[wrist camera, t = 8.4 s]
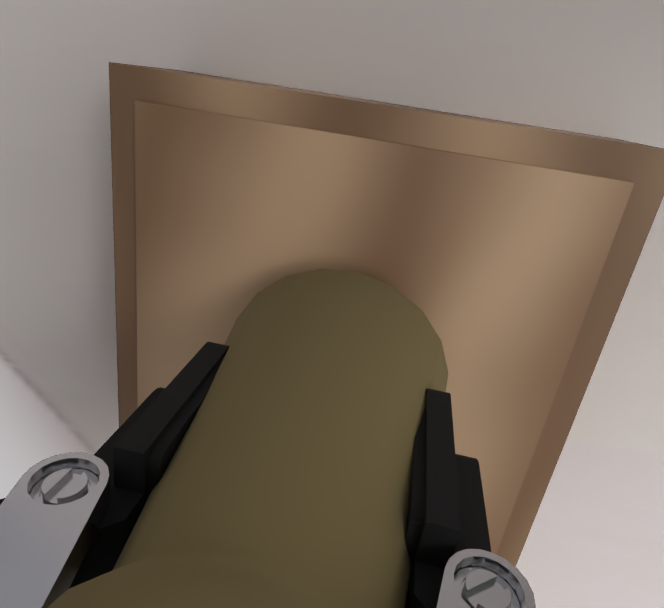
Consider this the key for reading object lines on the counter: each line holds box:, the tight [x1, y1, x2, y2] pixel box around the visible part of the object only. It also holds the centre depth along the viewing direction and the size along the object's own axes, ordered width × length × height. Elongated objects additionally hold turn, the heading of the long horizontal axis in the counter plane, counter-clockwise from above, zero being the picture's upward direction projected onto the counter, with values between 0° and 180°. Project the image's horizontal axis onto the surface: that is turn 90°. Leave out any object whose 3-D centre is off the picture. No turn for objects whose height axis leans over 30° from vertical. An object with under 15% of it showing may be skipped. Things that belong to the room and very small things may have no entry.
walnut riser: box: [109, 62, 664, 567], centre depth 17 cm, size 14×14×4 cm
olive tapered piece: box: [47, 268, 448, 608], centre depth 9 cm, size 6×6×11 cm
